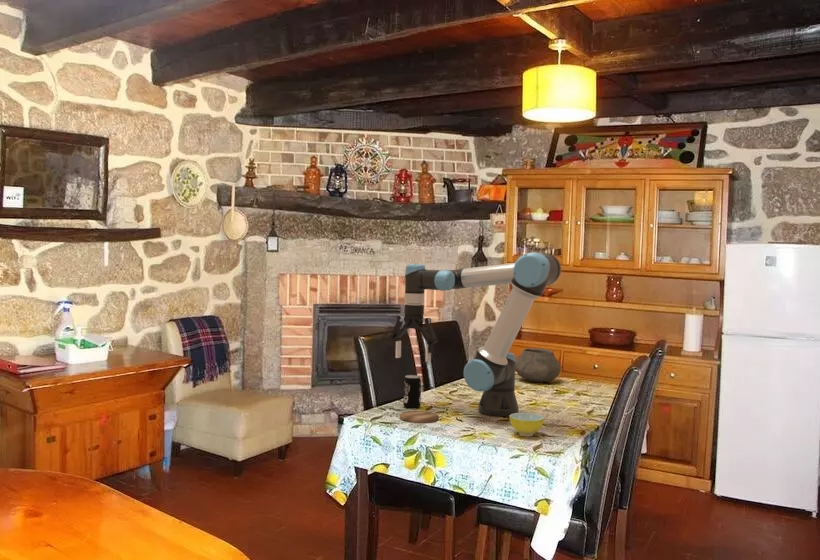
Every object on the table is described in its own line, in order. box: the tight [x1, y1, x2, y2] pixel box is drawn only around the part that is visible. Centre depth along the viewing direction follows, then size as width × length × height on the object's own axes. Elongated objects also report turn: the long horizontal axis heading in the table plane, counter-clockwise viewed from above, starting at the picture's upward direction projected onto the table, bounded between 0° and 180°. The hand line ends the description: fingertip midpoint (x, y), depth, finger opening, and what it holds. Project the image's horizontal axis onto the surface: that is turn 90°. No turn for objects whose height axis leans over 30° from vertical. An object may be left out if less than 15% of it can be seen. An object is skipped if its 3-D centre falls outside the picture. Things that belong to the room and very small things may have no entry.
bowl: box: [509, 412, 545, 437], centre depth 234 cm, size 11×12×6 cm
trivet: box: [399, 410, 440, 424], centre depth 253 cm, size 14×14×1 cm
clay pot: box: [515, 347, 562, 383], centre depth 335 cm, size 22×21×15 cm
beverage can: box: [403, 374, 422, 409], centre depth 271 cm, size 7×7×12 cm
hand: (412, 359), depth 270 cm, fingers open, 13 cm apart
